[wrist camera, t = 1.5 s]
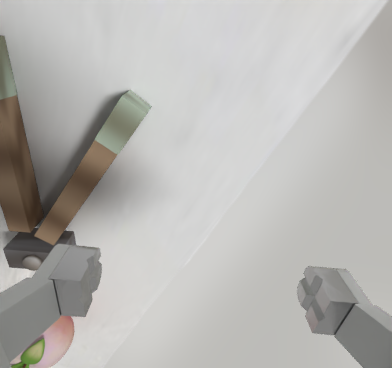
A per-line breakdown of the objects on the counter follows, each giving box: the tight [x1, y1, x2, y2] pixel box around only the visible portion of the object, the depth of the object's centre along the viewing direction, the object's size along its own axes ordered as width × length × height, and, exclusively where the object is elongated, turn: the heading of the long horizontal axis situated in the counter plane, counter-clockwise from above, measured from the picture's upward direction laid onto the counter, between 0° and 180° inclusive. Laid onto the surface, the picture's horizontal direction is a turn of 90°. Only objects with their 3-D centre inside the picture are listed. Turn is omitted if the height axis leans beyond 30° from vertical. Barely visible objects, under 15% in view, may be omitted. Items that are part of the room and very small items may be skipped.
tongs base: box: [0, 36, 76, 271], centre depth 26 cm, size 25×6×5 cm, turn 173°
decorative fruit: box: [10, 316, 74, 368], centre depth 36 cm, size 9×8×10 cm
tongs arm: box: [34, 90, 152, 245], centre depth 27 cm, size 20×2×3 cm, turn 141°
